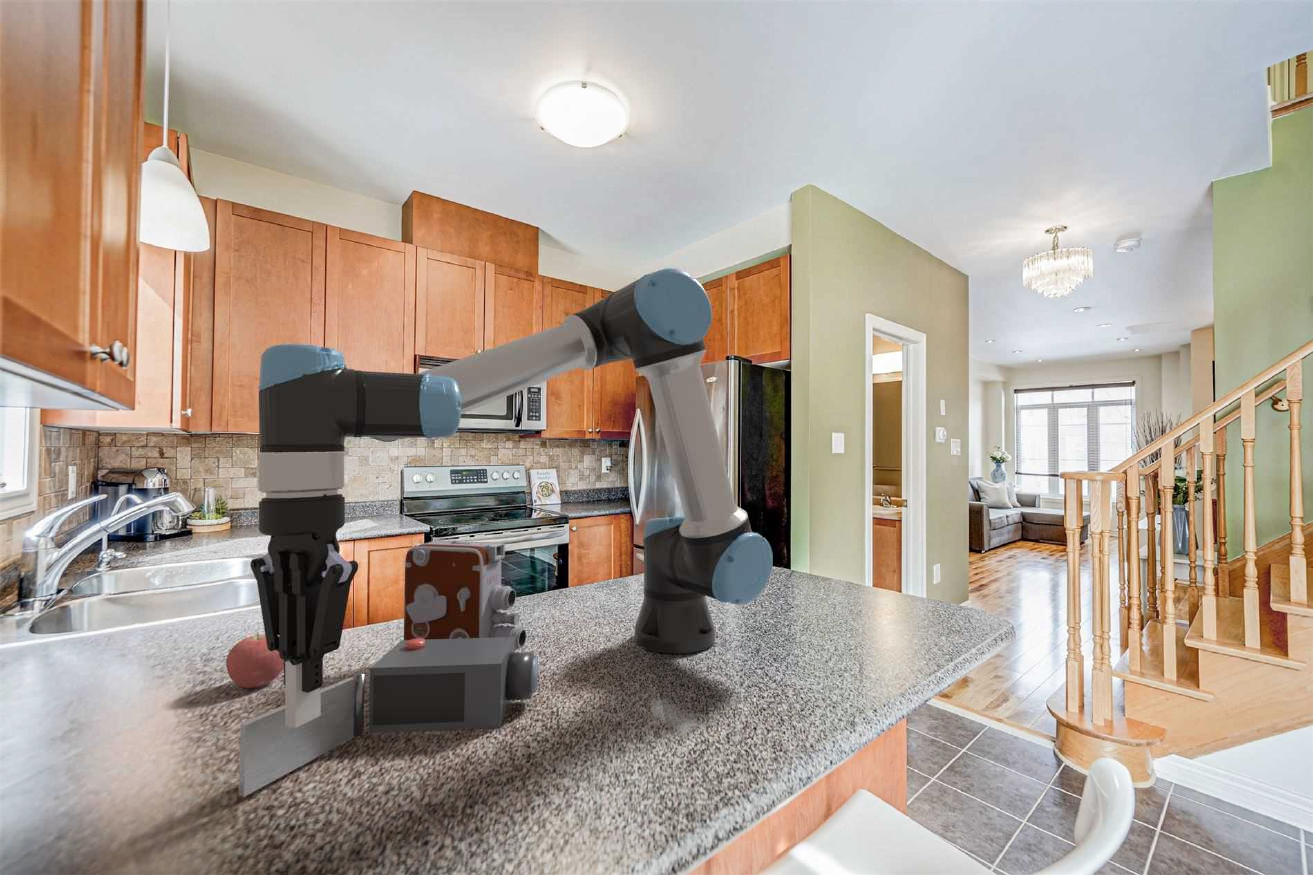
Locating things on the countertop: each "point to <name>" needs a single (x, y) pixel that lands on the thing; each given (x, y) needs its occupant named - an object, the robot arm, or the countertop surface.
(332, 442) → the robot arm
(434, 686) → the camera block
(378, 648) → the countertop surface
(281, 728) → the side door
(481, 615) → the cine camera
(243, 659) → the apple
